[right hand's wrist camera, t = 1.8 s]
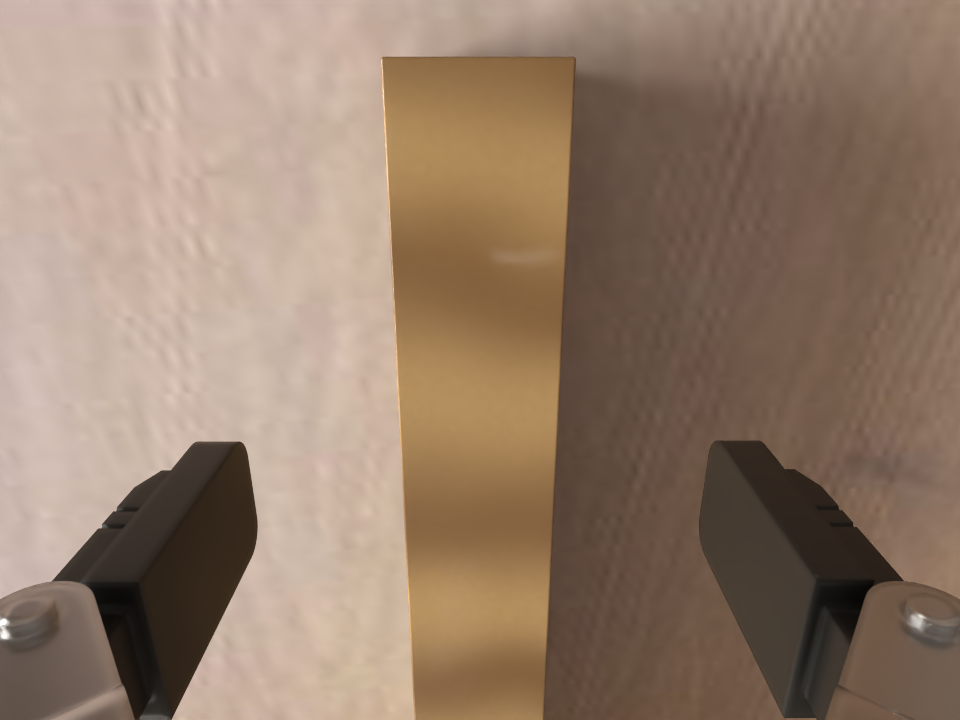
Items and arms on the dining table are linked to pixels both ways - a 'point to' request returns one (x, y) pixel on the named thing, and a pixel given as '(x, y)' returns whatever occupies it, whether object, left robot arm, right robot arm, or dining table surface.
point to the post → (478, 365)
